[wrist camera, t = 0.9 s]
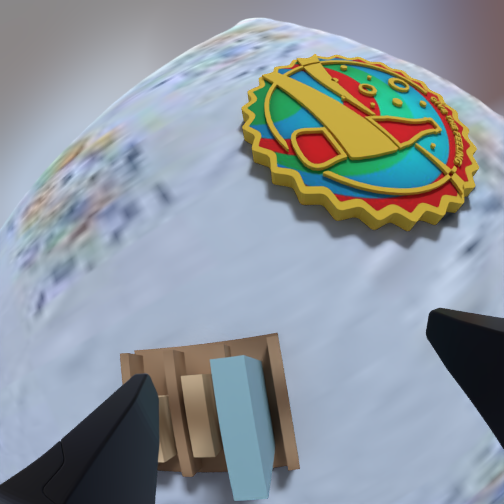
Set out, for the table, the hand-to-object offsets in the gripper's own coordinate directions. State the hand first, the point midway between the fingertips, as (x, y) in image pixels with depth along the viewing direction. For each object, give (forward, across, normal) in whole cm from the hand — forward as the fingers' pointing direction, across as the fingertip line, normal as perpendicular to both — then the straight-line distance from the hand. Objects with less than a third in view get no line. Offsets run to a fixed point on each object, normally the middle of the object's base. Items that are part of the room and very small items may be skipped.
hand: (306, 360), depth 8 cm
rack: (+10, +4, +12) cm, 16 cm away
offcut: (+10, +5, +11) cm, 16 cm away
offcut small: (+10, +9, +12) cm, 18 cm away
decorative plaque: (+25, -17, -10) cm, 32 cm away
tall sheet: (+9, +1, +11) cm, 15 cm away
